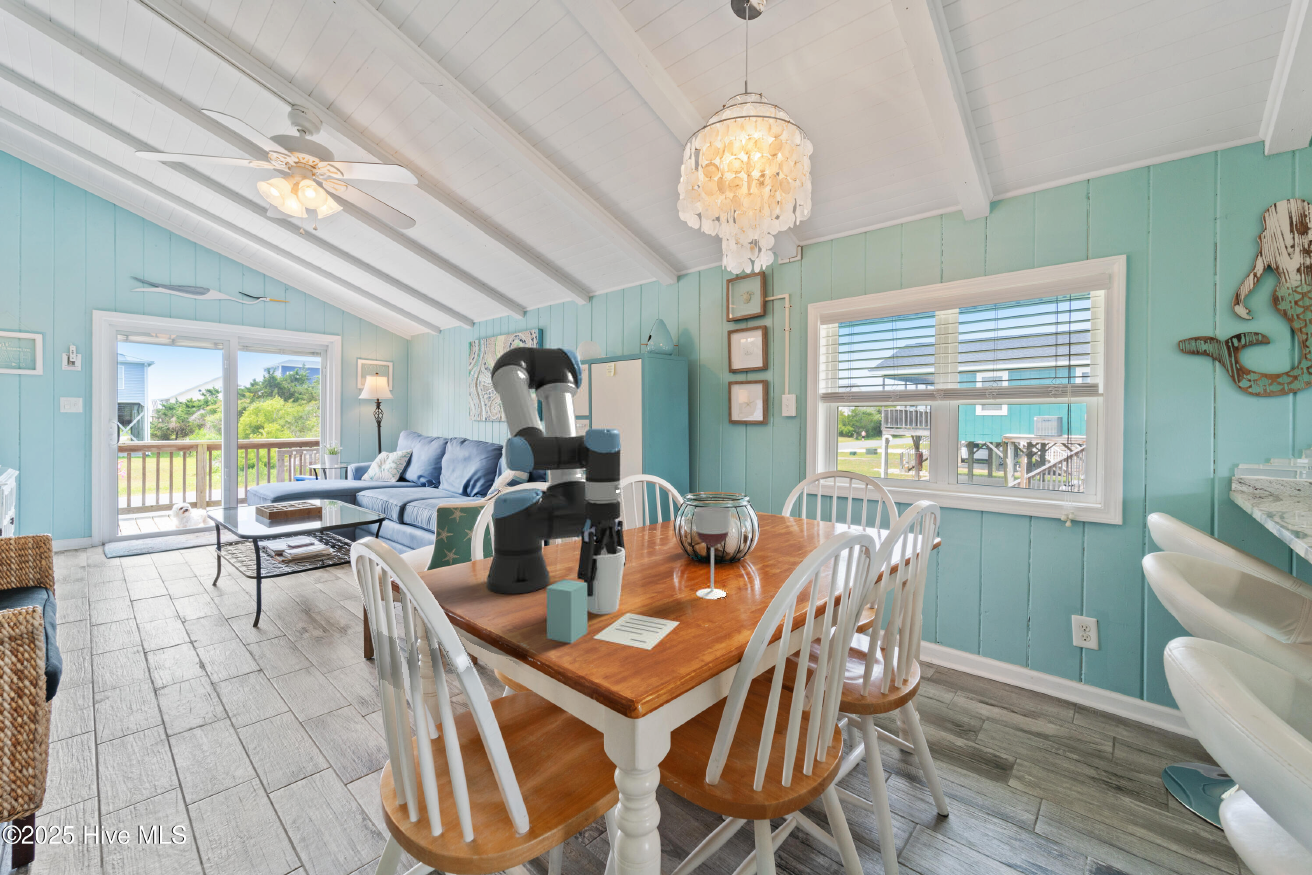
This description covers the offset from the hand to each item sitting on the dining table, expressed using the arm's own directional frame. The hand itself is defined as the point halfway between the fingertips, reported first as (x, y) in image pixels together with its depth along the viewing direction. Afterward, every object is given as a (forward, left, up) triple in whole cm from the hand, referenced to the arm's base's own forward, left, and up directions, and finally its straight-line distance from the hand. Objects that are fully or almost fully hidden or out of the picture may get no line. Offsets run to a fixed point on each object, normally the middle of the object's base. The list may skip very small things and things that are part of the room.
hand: (603, 602), depth 118 cm
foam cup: (0, 0, -2) cm, 2 cm away
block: (+1, -15, -2) cm, 15 cm away
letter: (+12, -7, -2) cm, 14 cm away
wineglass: (+18, +20, -2) cm, 27 cm away
